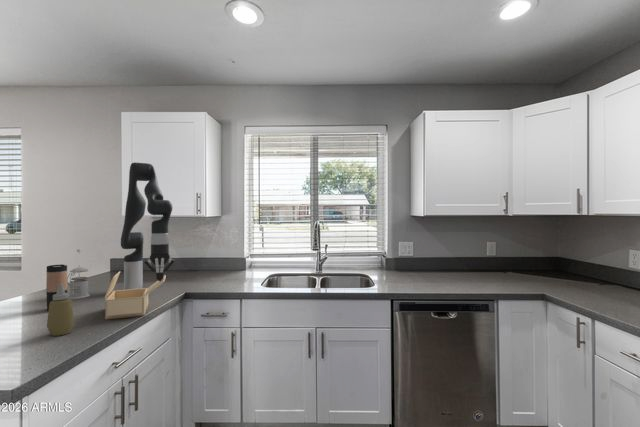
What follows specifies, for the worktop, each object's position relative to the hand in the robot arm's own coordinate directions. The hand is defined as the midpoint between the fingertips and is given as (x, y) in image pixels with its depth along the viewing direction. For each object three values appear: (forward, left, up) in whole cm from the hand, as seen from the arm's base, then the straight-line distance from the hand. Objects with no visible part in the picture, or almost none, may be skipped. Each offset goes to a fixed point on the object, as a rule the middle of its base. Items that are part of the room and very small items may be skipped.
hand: (159, 280), depth 157 cm
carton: (0, -13, -13) cm, 18 cm away
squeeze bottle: (+22, -32, -13) cm, 41 cm away
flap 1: (0, -20, -5) cm, 21 cm away
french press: (-42, -42, -13) cm, 61 cm away
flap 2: (0, -5, -5) cm, 7 cm away
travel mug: (-17, -44, -13) cm, 49 cm away
